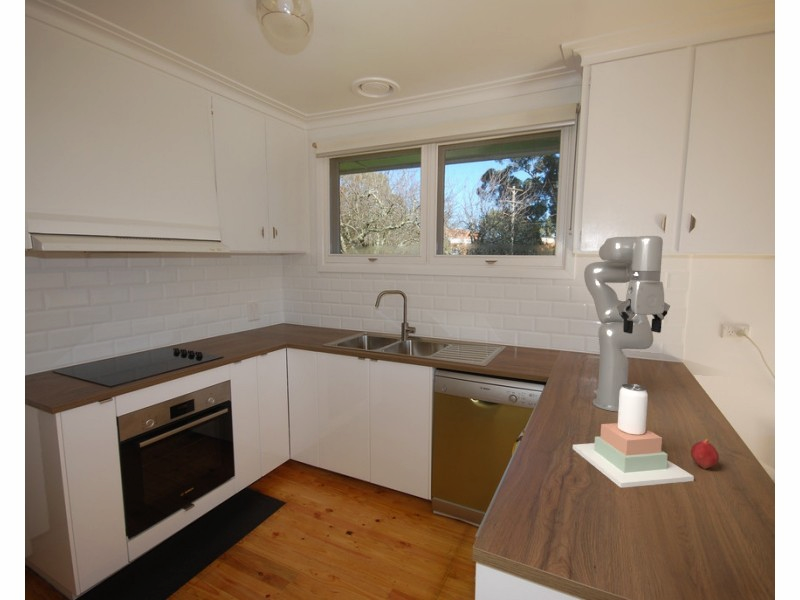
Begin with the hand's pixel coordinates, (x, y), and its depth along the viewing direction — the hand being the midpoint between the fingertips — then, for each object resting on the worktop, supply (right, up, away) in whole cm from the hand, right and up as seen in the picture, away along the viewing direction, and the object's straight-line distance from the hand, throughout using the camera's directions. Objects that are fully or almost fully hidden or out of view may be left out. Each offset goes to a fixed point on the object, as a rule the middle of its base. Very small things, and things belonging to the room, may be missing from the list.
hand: (641, 332), depth 123 cm
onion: (+5, -35, -18) cm, 39 cm away
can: (-13, -25, -17) cm, 33 cm away
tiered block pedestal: (-13, -34, -16) cm, 40 cm away
